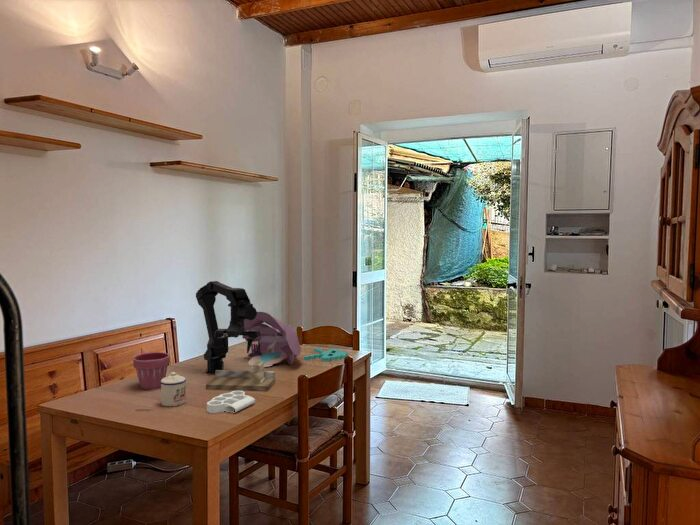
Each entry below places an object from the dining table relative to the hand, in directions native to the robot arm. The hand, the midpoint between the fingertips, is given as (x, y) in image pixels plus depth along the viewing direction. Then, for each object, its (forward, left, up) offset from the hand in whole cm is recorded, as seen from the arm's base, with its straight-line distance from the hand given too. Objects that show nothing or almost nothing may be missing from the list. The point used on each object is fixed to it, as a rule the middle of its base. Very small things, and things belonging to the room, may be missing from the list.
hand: (237, 352), depth 216 cm
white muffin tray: (+7, -33, -13) cm, 36 cm away
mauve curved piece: (+7, +30, -12) cm, 33 cm away
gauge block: (+10, -6, -10) cm, 16 cm away
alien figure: (+35, +45, -13) cm, 58 cm away
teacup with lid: (-15, -30, -12) cm, 36 cm away
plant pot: (-33, -12, -12) cm, 37 cm away
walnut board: (+4, -8, -12) cm, 15 cm away
